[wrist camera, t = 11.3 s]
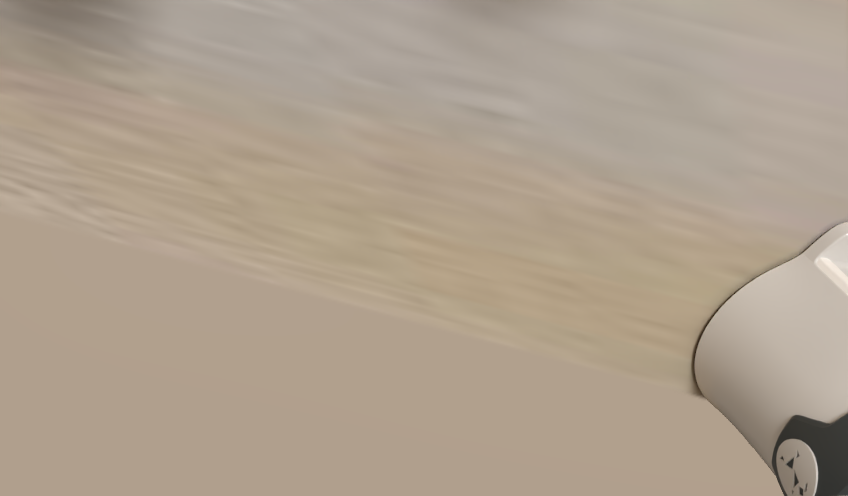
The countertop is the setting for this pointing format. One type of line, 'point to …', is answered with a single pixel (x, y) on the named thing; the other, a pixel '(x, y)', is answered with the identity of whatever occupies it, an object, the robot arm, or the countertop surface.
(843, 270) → the robot arm
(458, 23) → the countertop surface
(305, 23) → the countertop surface
